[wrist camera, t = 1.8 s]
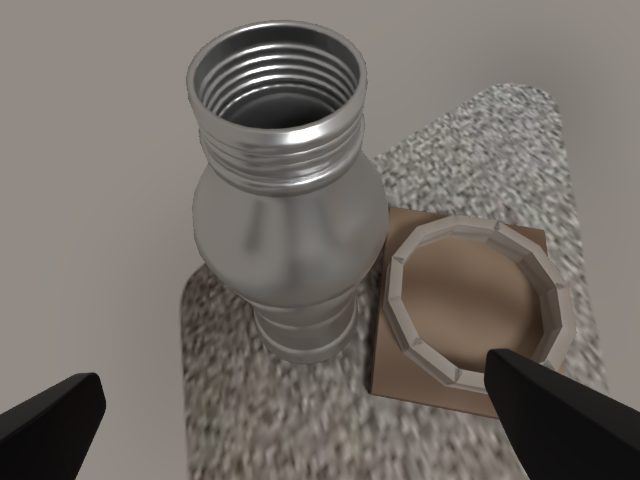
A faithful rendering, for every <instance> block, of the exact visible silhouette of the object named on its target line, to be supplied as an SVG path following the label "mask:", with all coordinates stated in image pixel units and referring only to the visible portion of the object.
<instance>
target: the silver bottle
mask: <svg viewBox="0 0 640 480" xmlns="http://www.w3.org/2000/svg"><path fill="white" fill-rule="evenodd" d="M367 84H368V81H367V70H366V63H365V61H364V59H363V57H362V54H361V52H360V51H359V50H358V49H357V48H356V47H355V45H354V44H353V43H352V42H350V41H349V40H348V39H347V38H345V37H344V36H342V35H341V34H339V33H337V32H335V31H333V30H331V29H328V28H325V27H323V26H320V25H317V24H312V23H307V22H303V21H291V20H270V21H263V22H256V23H251V24H248V25H244V26H240V27H237V28H235V29H232V30H229V31H227V32H225V33H223V34H221V35H219V36H218V37H216V38H214V39H213V40H211V41H210V42H209V43H207V44H206V45H205V46H203V47H202V48H201V49H200V51H199V52H198V53H197V54H196V55H195V56H194V58H193V60H192V62H191V64H190V65H189V67H188V71H187V76H186V85H187V91H188V99H189V102H190V104H191V107H192V109H193V112H194V115H195V117H196V120H197V123H198V125H199V137H200V143H201V146H202V148H203V151H204V153H205V156H206V158H207V160H208V165H207V167H206V169H205V171H204V173H203V174H202V176H201V178H200V181H199V183H198V185H197V188H196V190H195V193H194V199H193V206H192V211H193V223H194V236H195V241H196V244H197V247H198V250H199V253H200V255H201V257H202V258H203V260H204V261H205V263H206V264H207V266H208V267H209V269H210V270H211V271H212V272H213V273H214V274H215V275H216V276H217V277H218V278H219V279H220V280H221V281H222V282H223V283H224V284H225V285H226V286H227V287H228V288H229V289H231V290H232V291H233V292H235V293H236V294H238V295H239V296H241V297H242V298H243V299H245V300H246V301H248V302H249V303H250V304H251V305H252V306H253V307H254V318H255V324H256V329H257V332H258V335H259V337H260V339H261V340H262V342H263V343H264V345H265V346H266V347H267V348H268V349H269V350H270V351H271V352H272V353H273V354H275V355H276V356H278V357H279V358H281V359H283V360H286V361H289V362H291V363H297V364H314V363H318V362H322V361H325V360H327V359H329V358H331V357H333V356H335V355H336V354H337V353H339V352H340V351H341V350H342V349H343V348H344V347H345V346H346V345H347V344H348V343H349V341H350V340H351V338H352V336H353V334H354V332H355V329H356V326H357V322H358V305H357V298H356V295H355V291H356V288H357V286H358V285H359V284H360V282H361V281H362V280H363V278H364V277H365V276H366V274H367V273H368V272H369V270H370V269H371V267H372V266H373V264H374V262H375V261H376V259H377V257H378V255H379V253H380V251H381V249H382V248H383V245H384V242H385V239H386V236H387V233H388V225H389V211H388V204H387V199H386V194H385V189H384V185H383V183H382V180H381V178H380V175H379V173H378V171H377V170H376V168H375V167H374V166H373V164H372V163H371V161H370V160H369V159H368V157H367V156H366V155H365V154H364V153H363V151H362V150H361V147H362V141H363V135H364V128H365V122H364V114H363V108H364V102H365V96H366V90H367Z"/></svg>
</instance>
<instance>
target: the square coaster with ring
mask: <svg viewBox="0 0 640 480" xmlns="http://www.w3.org/2000/svg"><path fill="white" fill-rule="evenodd" d="M576 333H577V332H576V326H575V320H574V314H573V308H572V302H571V296H570V290H569V285H568V284H567V282H566V281H565V280H564V278H563V277H562V276H561V274H560V273H559V272H558V270H557V269H556V267H555V266H554V265H553V263H552V262H551V261H550V259H549V258H548V253H547V246H546V239H545V232H544V230H541V229H535V228H528V227H521V226H515V225H508V224H503V223H501V222H499V221H496V220H489V219H482V218H476V217H469V216H462V215H456V214H454V215H452V216H448V215H442V214H435V213H428V212H422V211H415V210H408V209H402V208H395V207H390V209H389V225H388V233H387V236H386V239H385V246H384V256H383V265H382V275H381V285H380V295H379V304H378V314H377V324H376V333H375V343H374V353H373V362H372V372H371V382H370V391H369V394H371V395H376V396H381V397H386V398H391V399H397V400H402V401H407V402H412V403H417V404H422V405H427V406H433V407H438V408H443V409H448V410H453V411H458V412H463V413H469V414H474V415H479V416H484V417H489V418H494V419H499V417H498V415H497V413H496V411H495V409H494V406H493V404H492V402H491V400H490V398H489V395H488V393H487V391H486V389H485V385H484V371H485V363H486V355H487V352H488V351H489V350H490V349H499V348H507V349H510V350H512V351H514V352H516V353H518V354H520V355H522V356H524V357H526V358H528V359H531V360H533V361H535V362H537V363H539V364H541V365H543V366H545V367H547V368H549V369H551V370H553V371H556V372H558V373H560V374H562V375H564V376H565V373H564V366H563V359H564V357H565V355H566V353H567V351H568V349H569V347H570V345H571V343H572V341H573V339H574V337H575V335H576ZM499 420H500V419H499Z"/></svg>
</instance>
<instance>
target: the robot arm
mask: <svg viewBox="0 0 640 480" xmlns="http://www.w3.org/2000/svg"><path fill="white" fill-rule="evenodd" d="M484 385H485V389H486V391H487V393H488V395H489V398H490V400H491V402H492V404H493V406H494V409H495V411H496V413H497V415H498V417H499V419H500V422H501V424H502V426H503V428H504V430H505V433H506V435H507V437H508V439H509V441H510V443H511V445H512V447H513V450H514V452H515V454H516V455H517V457H518V459H519V461H520V463H521V465H522V466H523V468H524V470H525V472H526V473H527V475H528V477H529V478H530V480H640V412H638V411H637V410H635V409H633V408H630V407H628V406H626V405H624V404H622V403H620V402H618V401H616V400H614V399H612V398H610V397H608V396H605V395H603V394H601V393H599V392H597V391H595V390H593V389H591V388H589V387H587V386H585V385H583V384H580V383H578V382H576V381H574V380H572V379H570V378H568V377H566V376H564V375H562V374H560V373H558V372H556V371H553V370H551V369H549V368H547V367H545V366H543V365H541V364H539V363H537V362H535V361H533V360H531V359H528V358H526V357H524V356H522V355H520V354H518V353H516V352H514V351H512V350H510V349H507V348H499V349H490V350H489V351H488V352H487V355H486V363H485V371H484ZM105 409H106V400H105V396H104V392H103V389H102V385H101V381H100V378H99V376H98V375H97V374H96V373H78V374H75V375H73V376H71V377H69V378H67V379H65V380H63V381H62V382H60V383H58V384H56V385H54V386H52V387H50V388H48V389H47V390H45V391H43V392H41V393H39V394H37V395H36V396H34V397H32V398H30V399H28V400H26V401H25V402H23V403H21V404H19V405H17V406H15V407H13V408H12V409H10V410H8V411H6V412H4V413H2V414H0V480H75V479H76V476H77V474H78V472H79V470H80V468H81V466H82V463H83V461H84V459H85V456H86V454H87V452H88V450H89V447H90V445H91V443H92V441H93V438H94V436H95V434H96V431H97V429H98V427H99V425H100V422H101V420H102V418H103V416H104V413H105Z"/></svg>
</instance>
